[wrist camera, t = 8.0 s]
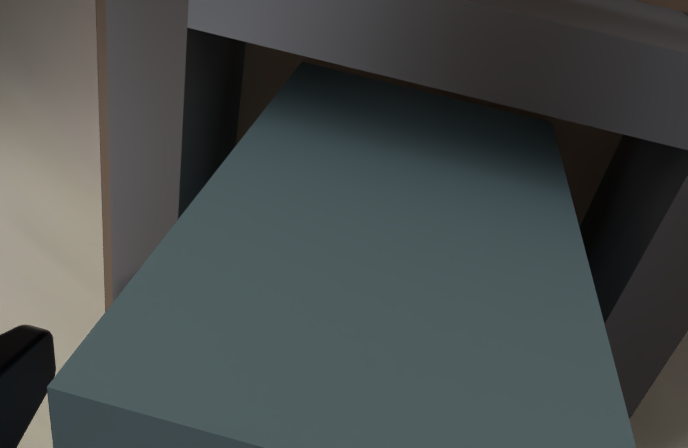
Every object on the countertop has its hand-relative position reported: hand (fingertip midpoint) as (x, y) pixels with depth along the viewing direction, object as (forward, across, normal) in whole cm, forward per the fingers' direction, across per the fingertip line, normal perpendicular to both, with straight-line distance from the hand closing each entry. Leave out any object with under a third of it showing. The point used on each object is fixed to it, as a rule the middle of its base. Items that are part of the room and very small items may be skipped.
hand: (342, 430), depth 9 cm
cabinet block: (+3, 0, 0) cm, 3 cm away
